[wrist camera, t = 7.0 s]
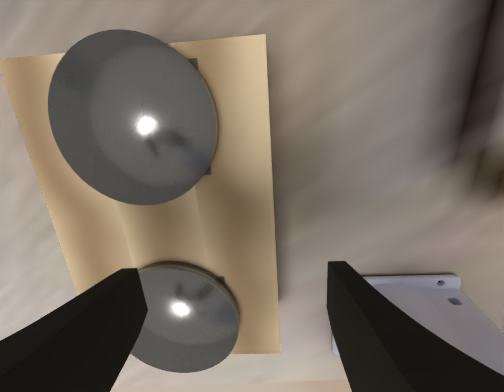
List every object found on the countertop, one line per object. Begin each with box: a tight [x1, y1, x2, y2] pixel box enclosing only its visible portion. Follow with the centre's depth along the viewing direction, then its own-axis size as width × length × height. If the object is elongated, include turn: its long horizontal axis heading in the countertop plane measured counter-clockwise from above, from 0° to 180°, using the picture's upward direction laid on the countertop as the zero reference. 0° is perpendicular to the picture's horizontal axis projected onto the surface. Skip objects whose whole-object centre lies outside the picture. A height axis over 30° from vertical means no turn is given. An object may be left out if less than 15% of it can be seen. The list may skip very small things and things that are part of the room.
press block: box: [0, 34, 281, 354], centre depth 18 cm, size 13×19×5 cm
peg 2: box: [130, 261, 240, 373], centre depth 19 cm, size 8×8×5 cm
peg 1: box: [48, 30, 219, 205], centre depth 15 cm, size 8×8×5 cm
